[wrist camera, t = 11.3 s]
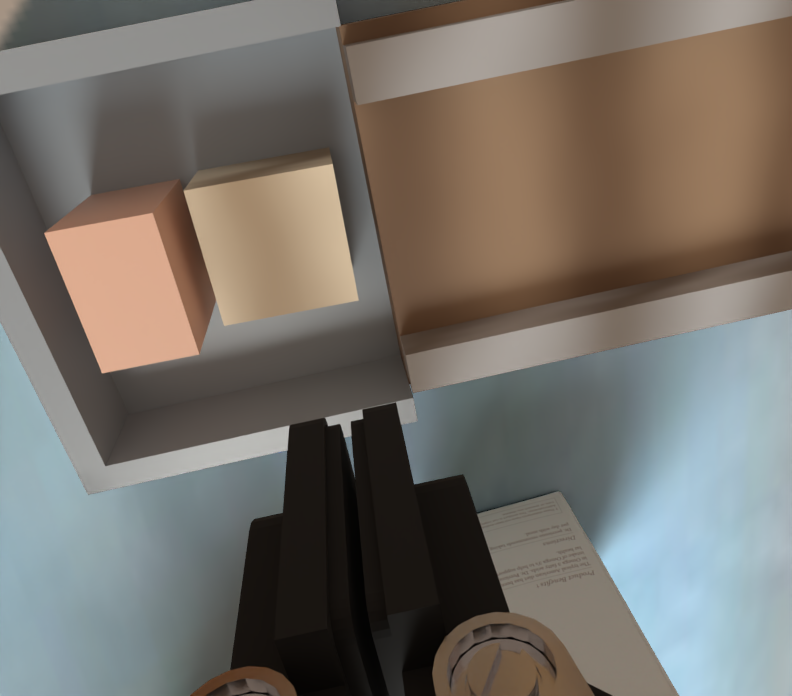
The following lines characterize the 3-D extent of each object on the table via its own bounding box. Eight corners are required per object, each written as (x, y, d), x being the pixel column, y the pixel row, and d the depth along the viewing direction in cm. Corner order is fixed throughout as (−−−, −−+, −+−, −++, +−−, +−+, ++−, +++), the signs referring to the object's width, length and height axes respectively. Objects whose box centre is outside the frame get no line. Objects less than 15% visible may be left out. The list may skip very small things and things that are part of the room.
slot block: (804, -69, 22) (917, -90, 18) (772, 266, 27) (854, 307, 23) (334, 25, 21) (342, 26, 17) (398, 348, 27) (415, 405, 23)
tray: (327, -9, 21) (332, -16, 17) (402, 368, 27) (417, 421, 24) (-50, 66, 20) (-125, 75, 17) (116, 432, 27) (87, 494, 23)
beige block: (328, 147, 22) (332, 163, 20) (352, 270, 24) (358, 300, 22) (197, 170, 22) (183, 190, 19) (232, 292, 24) (223, 326, 21)
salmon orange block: (152, 213, 18) (43, 233, 18) (199, 354, 20) (102, 373, 20) (179, 179, 22) (90, 194, 22) (216, 300, 24) (135, 315, 24)
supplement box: (443, 628, 34) (511, 921, 23) (415, 524, 31) (480, 808, 20) (578, 593, 35) (711, 867, 23) (565, 485, 31) (714, 745, 20)
